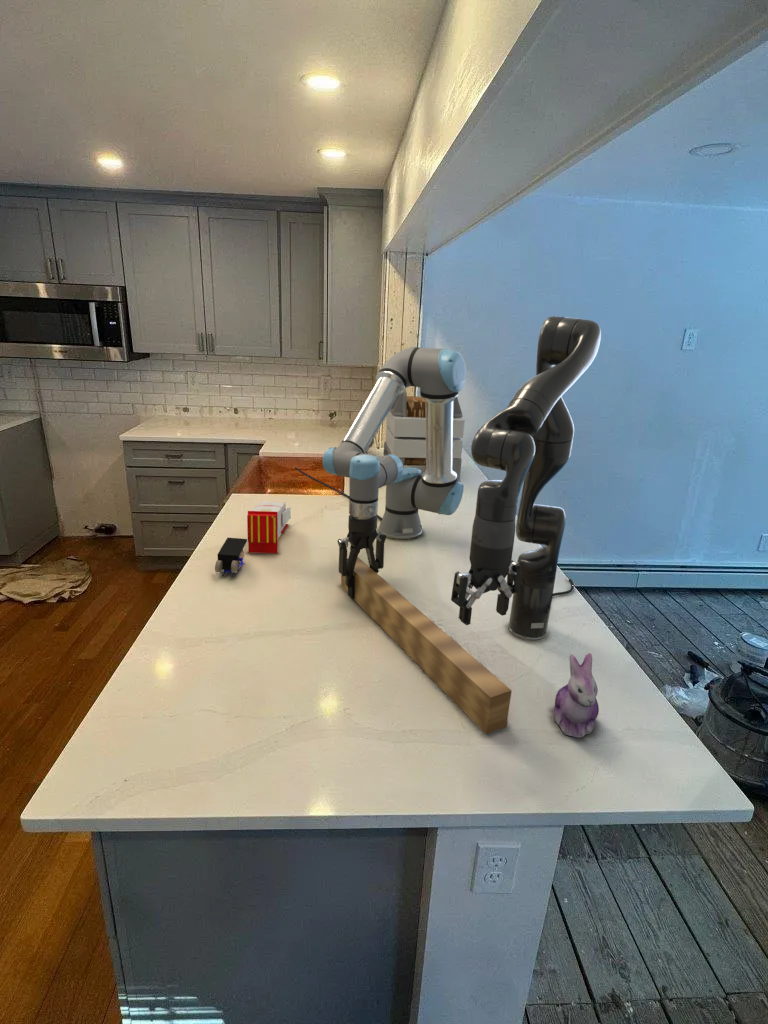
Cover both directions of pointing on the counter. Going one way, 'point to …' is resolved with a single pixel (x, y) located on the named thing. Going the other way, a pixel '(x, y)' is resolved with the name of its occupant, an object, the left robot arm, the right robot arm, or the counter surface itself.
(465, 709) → the bar
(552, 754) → the counter surface
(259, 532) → the toy
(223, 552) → the figurine character
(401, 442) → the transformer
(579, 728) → the figurine
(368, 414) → the left robot arm
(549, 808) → the counter surface
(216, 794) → the counter surface
